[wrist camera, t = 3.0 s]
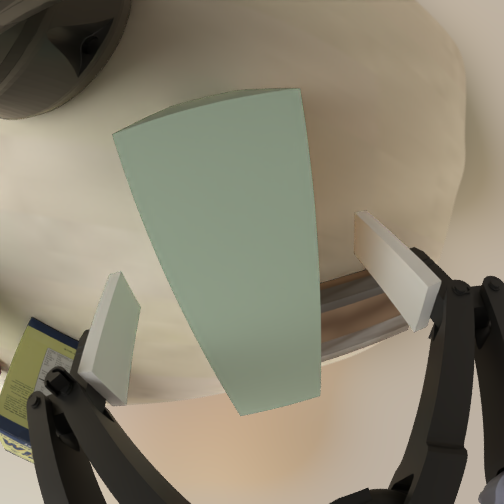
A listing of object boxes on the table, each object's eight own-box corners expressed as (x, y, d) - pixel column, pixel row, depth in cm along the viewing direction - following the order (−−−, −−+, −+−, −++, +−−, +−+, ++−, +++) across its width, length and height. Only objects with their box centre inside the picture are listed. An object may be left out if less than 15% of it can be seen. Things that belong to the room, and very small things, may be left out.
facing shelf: (225, 308, 29) (228, 329, 26) (409, 255, 30) (424, 270, 27) (245, 363, 35) (249, 382, 32) (397, 316, 35) (407, 331, 33)
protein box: (26, 369, 31) (4, 451, 18) (30, 314, 25) (-11, 424, 12) (81, 394, 35) (70, 478, 22) (103, 350, 30) (85, 466, 17)
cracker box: (170, 106, 18) (112, 134, 6) (240, 89, 18) (307, 87, 6) (220, 278, 27) (240, 416, 15) (273, 265, 27) (323, 394, 15)
